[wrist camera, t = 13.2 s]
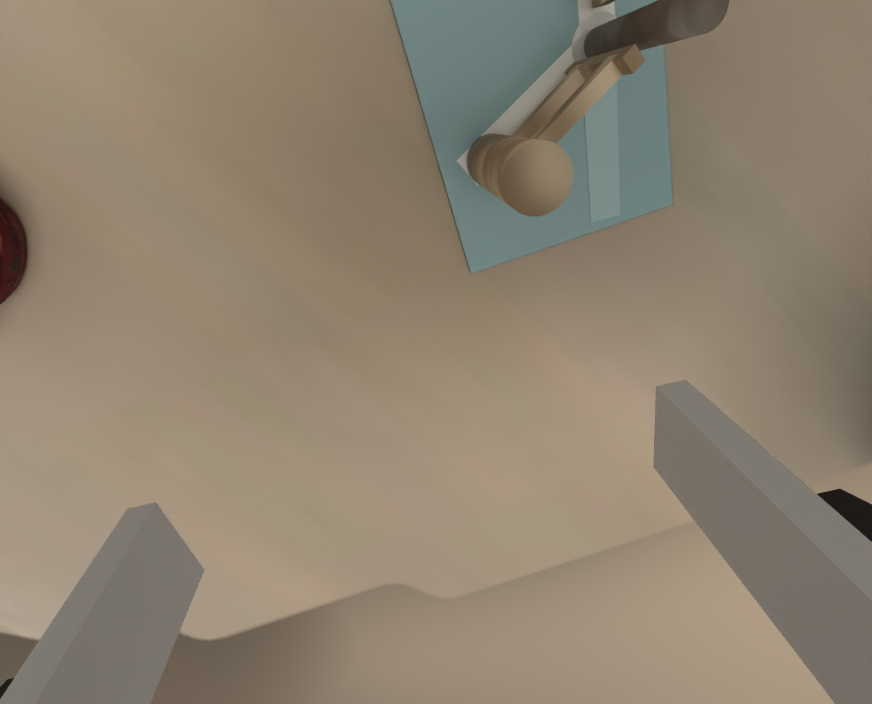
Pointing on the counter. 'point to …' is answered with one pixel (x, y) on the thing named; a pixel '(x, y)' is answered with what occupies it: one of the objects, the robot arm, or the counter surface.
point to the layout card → (517, 98)
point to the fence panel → (546, 137)
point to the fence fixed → (655, 24)
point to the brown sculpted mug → (10, 252)
